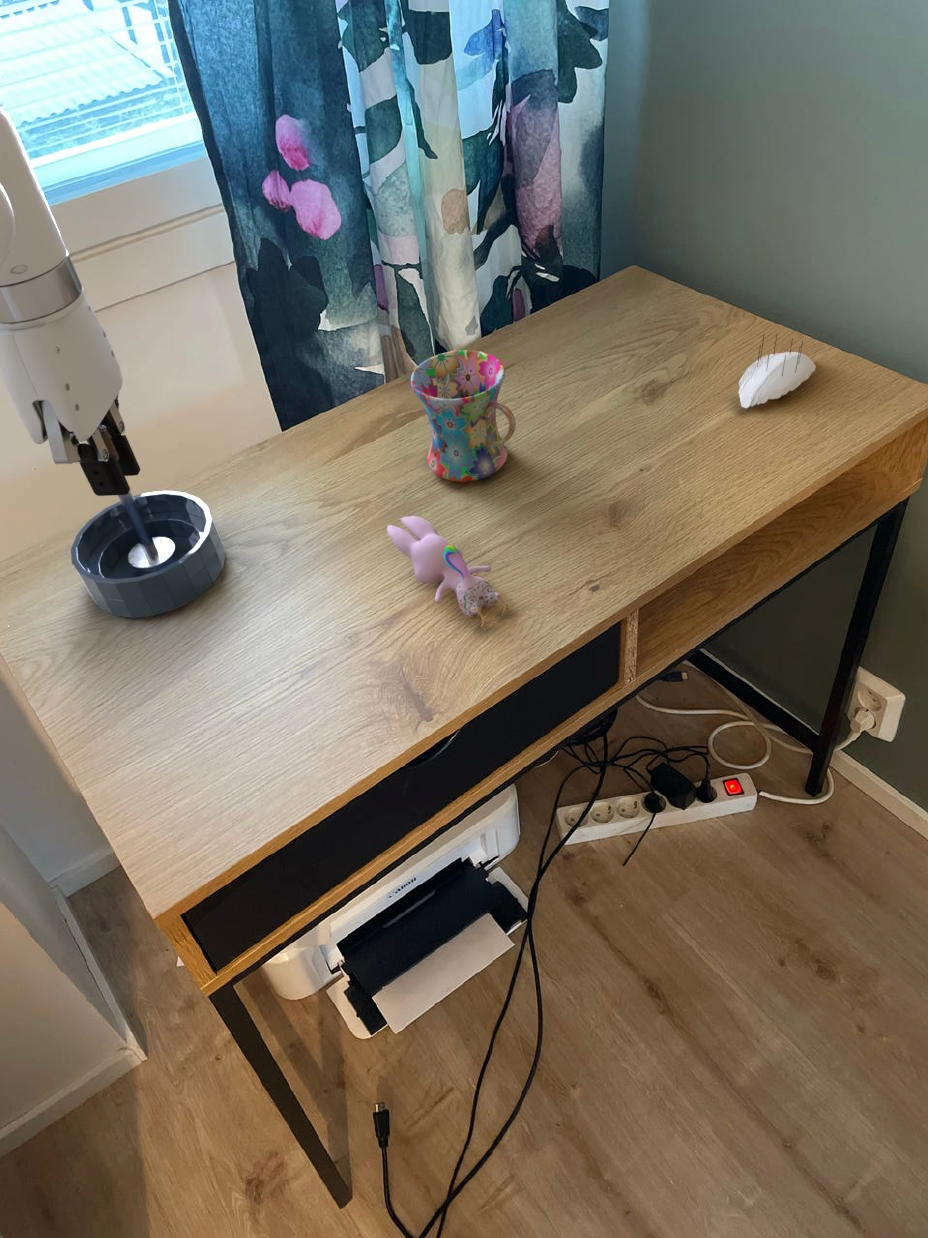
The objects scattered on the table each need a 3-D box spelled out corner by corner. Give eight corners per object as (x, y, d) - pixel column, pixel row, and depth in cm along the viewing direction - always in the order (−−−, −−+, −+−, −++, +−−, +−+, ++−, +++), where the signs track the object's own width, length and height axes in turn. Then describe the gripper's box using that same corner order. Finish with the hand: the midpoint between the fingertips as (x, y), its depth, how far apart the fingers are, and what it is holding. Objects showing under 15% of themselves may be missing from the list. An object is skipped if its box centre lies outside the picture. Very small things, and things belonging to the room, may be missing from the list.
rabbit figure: (522, 614, 81) (421, 519, 88) (526, 571, 76) (419, 474, 83) (469, 650, 78) (369, 549, 85) (469, 608, 73) (363, 505, 80)
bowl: (156, 640, 81) (135, 601, 78) (64, 593, 87) (41, 555, 84) (254, 553, 88) (240, 514, 85) (163, 515, 94) (146, 476, 91)
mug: (407, 467, 96) (391, 379, 88) (468, 427, 100) (458, 340, 92) (486, 512, 89) (476, 421, 81) (549, 467, 93) (545, 376, 85)
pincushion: (782, 354, 103) (790, 308, 99) (830, 371, 100) (840, 324, 96) (719, 400, 98) (724, 353, 94) (767, 420, 95) (775, 372, 91)
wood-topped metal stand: (153, 582, 85) (91, 452, 75) (122, 567, 87) (57, 438, 77) (188, 554, 88) (133, 423, 77) (157, 540, 90) (98, 411, 79)
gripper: (24, 246, 74) (109, 435, 87) (-69, 344, 63) (45, 543, 76) (110, 240, 73) (183, 431, 86) (31, 337, 62) (129, 540, 75)
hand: (118, 482), depth 81 cm, fingers closed on wood-topped metal stand
